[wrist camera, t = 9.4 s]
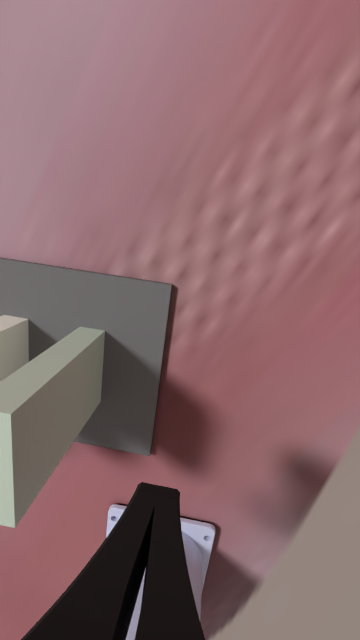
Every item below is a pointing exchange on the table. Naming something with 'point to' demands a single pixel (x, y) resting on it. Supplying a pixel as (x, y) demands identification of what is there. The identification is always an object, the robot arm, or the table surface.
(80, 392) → the domino
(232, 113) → the table surface
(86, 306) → the charcoal mat
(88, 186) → the table surface
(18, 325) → the domino
